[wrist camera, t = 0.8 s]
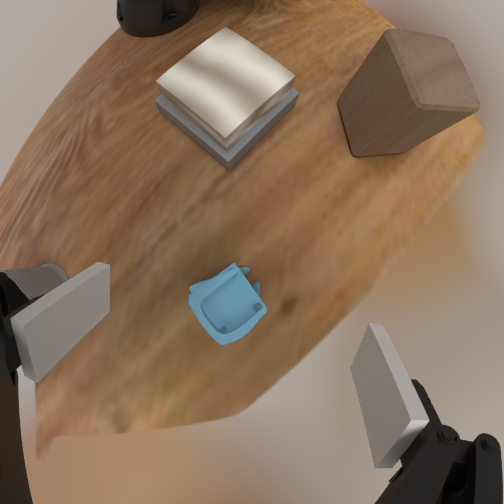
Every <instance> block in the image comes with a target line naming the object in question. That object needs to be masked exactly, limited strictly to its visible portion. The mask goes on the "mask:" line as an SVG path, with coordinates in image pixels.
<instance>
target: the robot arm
mask: <svg viewBox="0 0 504 504" xmlns="http://www.w3.org/2000/svg"><path fill="white" fill-rule="evenodd" d="M198 6H199V0H117V19H118V22H119V24H120V26H121V27H122V29H123V30H124V31H125V32H126V33H128V34H130V35H133V36H138V37H150V36H156V35H161V34H164V33H167V32H170V31H172V30H174V29H176V28H178V27H180V26H182V25H183V24H185V23H186V22H187V21H189V20H190V19H191V18H192V17H193V16H194V14H195V13H196V11H197V9H198ZM109 312H110V265H108V264H104V263H101V262H97V263H95V264H93V265H92V266H90V267H88V268H87V269H85V270H84V271H82V272H80V273H79V274H77V275H75V276H74V277H72V278H71V279H69V280H67V281H66V282H64V283H63V284H61V285H60V286H58V287H57V288H55V289H53V290H52V291H50V292H49V293H47V294H46V295H45V294H43V295H40V296H37V297H34V298H33V299H31V300H30V301H28V302H27V303H25V304H24V305H22V306H21V307H19V308H18V309H16V310H15V311H13V312H12V313H10V314H9V315H7V316H6V317H4V318H3V314H2V309H1V303H0V504H33V502H32V497H31V493H30V488H29V484H28V479H27V473H26V468H25V461H24V455H23V447H22V439H21V430H20V417H19V399H18V373H17V370H16V369H17V368H18V367H19V366H20V365H22V368H23V372H24V375H25V376H26V377H28V378H30V379H31V380H33V381H35V382H37V383H38V382H39V381H40V380H41V379H42V378H43V377H44V376H45V375H46V374H47V373H48V372H49V371H50V370H51V369H52V368H53V367H54V366H55V365H56V364H57V363H58V362H59V361H60V360H61V359H62V358H63V357H64V356H65V355H66V354H67V353H68V352H69V351H70V350H71V349H72V348H73V347H74V346H75V345H76V344H77V343H78V342H79V341H80V340H81V339H82V338H83V337H84V336H85V335H86V334H87V333H88V332H89V331H90V330H91V329H92V328H93V327H94V326H96V325H97V324H98V323H99V322H100V321H101V320H102V319H103V318H104V317H105V316H106V315H107V314H108V313H109ZM351 371H352V375H353V379H354V382H355V386H356V390H357V393H358V398H359V402H360V405H361V410H362V414H363V418H364V422H365V426H366V430H367V435H368V439H369V443H370V448H371V452H372V457H373V462H374V466H375V468H392V467H393V466H394V465H395V464H396V463H397V462H398V460H399V459H400V460H401V463H402V467H401V468H400V469H399V471H397V473H396V474H395V475H394V476H393V477H392V478H391V479H390V480H389V482H390V483H389V485H388V486H387V488H386V489H385V491H384V492H383V493H382V495H381V496H380V497H379V499H378V500H377V501H376V503H375V504H503V481H502V480H503V479H502V461H501V449H500V445H499V442H498V441H497V440H496V438H494V437H493V436H491V435H489V434H485V433H483V434H480V435H478V436H477V438H476V439H475V440H474V441H473V442H471V441H466V440H461V439H460V437H459V435H458V433H457V432H456V431H455V430H454V429H453V428H451V427H449V426H447V425H442V423H441V421H440V420H439V417H438V415H437V413H436V411H435V409H434V407H433V405H432V404H431V401H430V399H429V397H428V395H427V393H426V391H425V389H424V387H423V386H422V385H421V384H420V383H419V382H418V381H417V380H413V379H410V378H409V376H408V374H407V371H406V370H405V367H404V366H403V364H402V361H401V359H400V358H399V356H398V354H397V352H396V350H395V348H394V346H393V344H392V342H391V340H390V338H389V336H388V334H387V333H386V331H385V329H384V327H383V326H382V325H378V324H372V323H369V324H368V327H367V329H366V332H365V334H364V337H363V339H362V342H361V344H360V346H359V349H358V351H357V353H356V356H355V358H354V361H353V363H352V365H351Z"/></svg>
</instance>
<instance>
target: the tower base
mask: <svg viewBox="0 0 504 504" xmlns="http://www.w3.org/2000/svg"><path fill="white" fill-rule="evenodd" d="M298 96H299V92H298V91H296V90H295V89H294V88H291V91H290V94H289V95H288V96H287V97H285V98H284V99H283V100H282V101H281V102H280V103H279V104H278V105H276V106H275V107H274V108H273V109H272V110H271V111H270V112H269V113H267V114H266V115H265V116H264V117H263V118H262V119H261V120H260V121H259V122H258V123H256V124H255V125H254V126H253V127H252V128H251V129H250V130H249V131H248V132H247V133H246V134H245V135H244V136H243V137H241V138H240V139H239V140H238V141H237V142H236V143H235V144H234V145H233V146H232V147H231V148H230V149H229V150H228V151H225V150H224V149H223V148H222V147H221V146H220V145H219V144H218V143H216V142H215V141H214V140H213V139H212V138H211V137H209V136H208V135H207V134H206V133H205V132H204V131H203V130H201V129H200V128H199V127H198V126H197V125H195V124H194V123H193V122H192V121H191V120H190V119H188V118H187V117H186V116H185V115H184V114H182V113H181V112H180V111H179V110H178V109H176V108H175V107H174V106H173V105H172V104H170V103H169V102H168V101H167V100H166V99H164V97H163V95H162V94H161V95H159V96H158V97H157V98H156V99H155V100H154V101H155V103H156V105H157V106H158V108H159V110H160V112H161V113H162V114H163V115H164V116H165V117H166V118H168V119H169V120H170V121H171V122H173V123H174V124H175V125H176V126H177V127H179V128H180V129H181V130H182V131H183V132H185V133H186V134H187V135H188V136H189V137H191V138H192V139H193V140H194V141H195V142H197V143H198V144H199V145H200V146H201V147H202V148H204V149H205V150H206V151H207V152H208V153H210V154H211V155H212V156H213V157H214V158H215V159H217V160H218V161H219V162H220V163H221V164H222V165H223V166H225V167H226V168H227V169H228V170H229V171H230V170H231V169H232V167H233V166H234V165H235V164H236V163H237V162H238V161H239V160H240V159H241V158H242V157H243V156H244V155H245V154H246V153H247V152H248V151H249V150H250V149H251V148H252V147H253V146H254V145H255V144H256V143H257V142H258V141H259V140H260V139H261V138H262V137H263V136H264V135H265V134H266V133H267V132H268V131H269V130H270V129H271V128H272V127H273V126H274V125H275V124H276V123H277V122H278V121H280V120H281V119H282V118H283V117H284V116H285V115H286V114H287V113H288V112H289V111H290V110H291V109H292V108H293V107H294V106H295V103H296V101H297V98H298Z"/></svg>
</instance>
